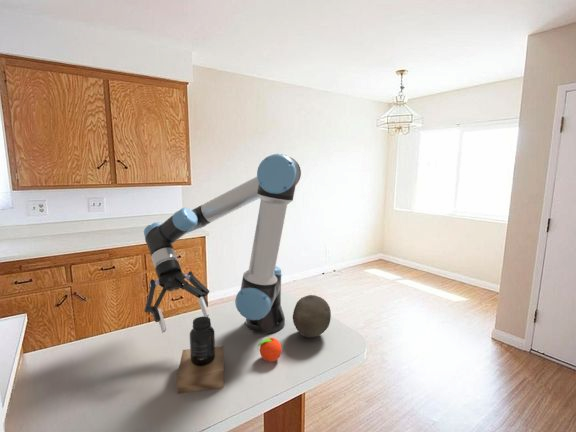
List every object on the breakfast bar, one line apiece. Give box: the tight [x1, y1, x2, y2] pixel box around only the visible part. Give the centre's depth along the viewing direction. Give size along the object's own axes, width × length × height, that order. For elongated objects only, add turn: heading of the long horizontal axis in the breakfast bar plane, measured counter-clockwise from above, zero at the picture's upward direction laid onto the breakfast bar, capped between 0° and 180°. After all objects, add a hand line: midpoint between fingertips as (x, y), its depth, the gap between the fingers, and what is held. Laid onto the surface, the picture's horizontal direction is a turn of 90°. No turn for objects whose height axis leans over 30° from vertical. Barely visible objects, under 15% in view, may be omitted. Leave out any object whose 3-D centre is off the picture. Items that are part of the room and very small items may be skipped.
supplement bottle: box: [189, 316, 216, 366], centre depth 86 cm, size 7×7×12 cm
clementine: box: [256, 337, 282, 363], centre depth 95 cm, size 8×7×7 cm
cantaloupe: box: [292, 294, 332, 338], centre depth 108 cm, size 14×14×15 cm
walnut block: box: [176, 345, 225, 394], centre depth 87 cm, size 12×12×5 cm
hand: (186, 323), depth 93 cm, fingers open, 13 cm apart
